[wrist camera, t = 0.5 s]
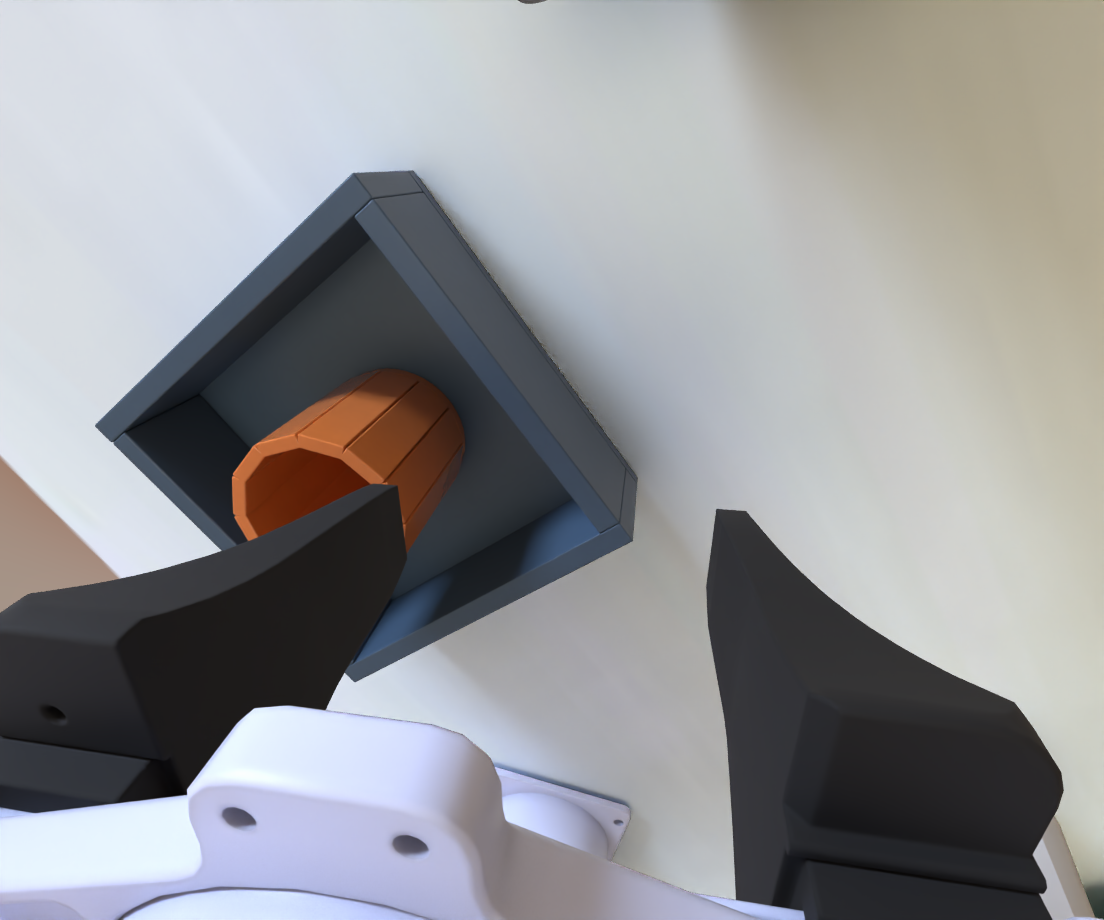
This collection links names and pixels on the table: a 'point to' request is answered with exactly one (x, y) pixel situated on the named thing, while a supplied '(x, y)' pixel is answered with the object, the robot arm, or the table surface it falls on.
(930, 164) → the table surface
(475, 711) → the table surface
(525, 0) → the mug
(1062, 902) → the salt shaker
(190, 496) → the dark grey storage bin
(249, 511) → the cup
